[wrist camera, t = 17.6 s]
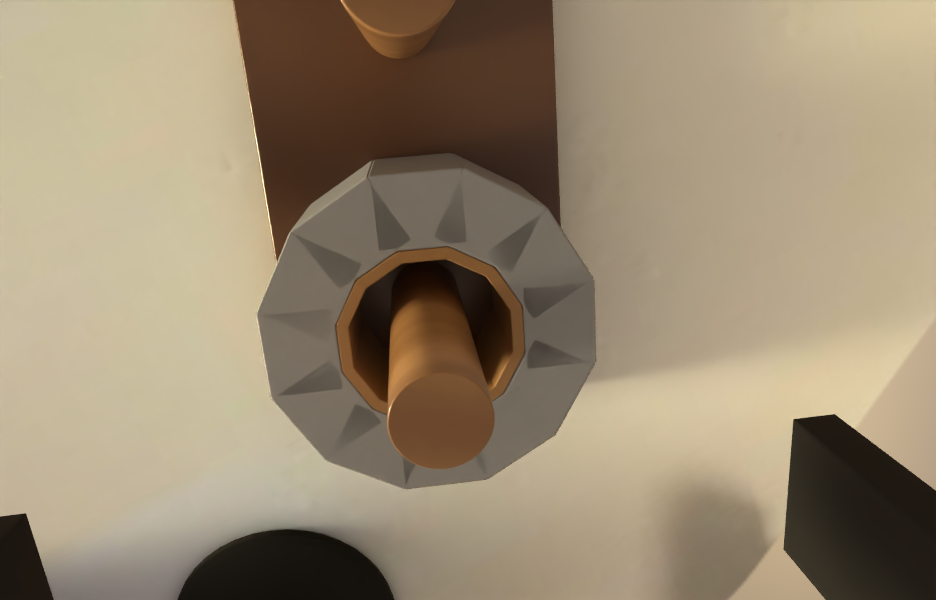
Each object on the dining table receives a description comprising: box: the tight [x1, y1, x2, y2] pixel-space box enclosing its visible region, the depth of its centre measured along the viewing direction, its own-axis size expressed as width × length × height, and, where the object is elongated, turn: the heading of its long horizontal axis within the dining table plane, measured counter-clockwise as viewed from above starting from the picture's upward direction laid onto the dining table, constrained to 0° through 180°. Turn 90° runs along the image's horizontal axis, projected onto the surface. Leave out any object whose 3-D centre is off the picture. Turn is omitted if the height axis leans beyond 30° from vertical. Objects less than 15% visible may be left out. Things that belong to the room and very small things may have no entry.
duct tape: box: [256, 153, 596, 489], centre depth 25 cm, size 11×11×5 cm
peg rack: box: [233, 0, 561, 469], centre depth 21 cm, size 21×11×13 cm, turn 4°
